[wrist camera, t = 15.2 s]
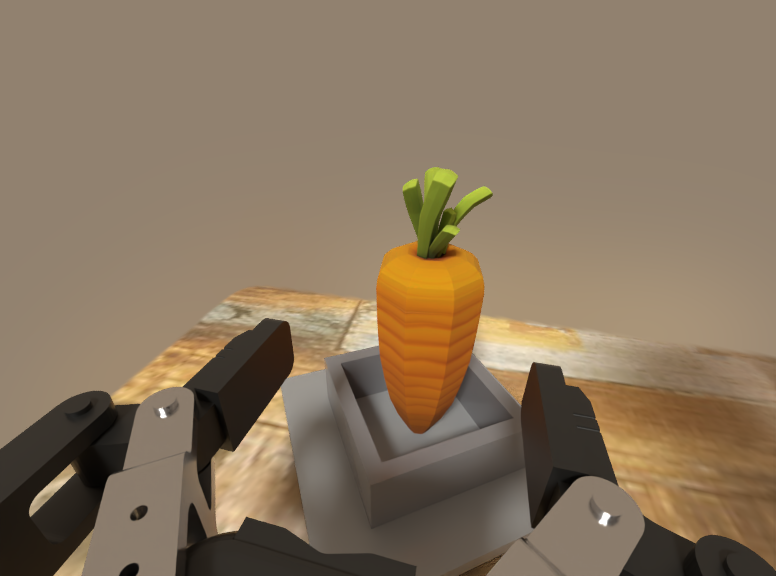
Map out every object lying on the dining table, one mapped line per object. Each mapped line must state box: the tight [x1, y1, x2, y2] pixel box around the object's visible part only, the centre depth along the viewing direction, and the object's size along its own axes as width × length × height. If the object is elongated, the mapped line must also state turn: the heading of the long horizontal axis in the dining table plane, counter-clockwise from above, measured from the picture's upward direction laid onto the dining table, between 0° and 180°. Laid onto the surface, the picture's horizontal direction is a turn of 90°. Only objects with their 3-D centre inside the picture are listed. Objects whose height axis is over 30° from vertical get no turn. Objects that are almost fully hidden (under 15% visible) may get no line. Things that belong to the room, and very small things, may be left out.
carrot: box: [376, 167, 493, 434], centre depth 17 cm, size 5×5×15 cm
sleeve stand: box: [281, 346, 534, 576], centre depth 21 cm, size 14×14×4 cm
